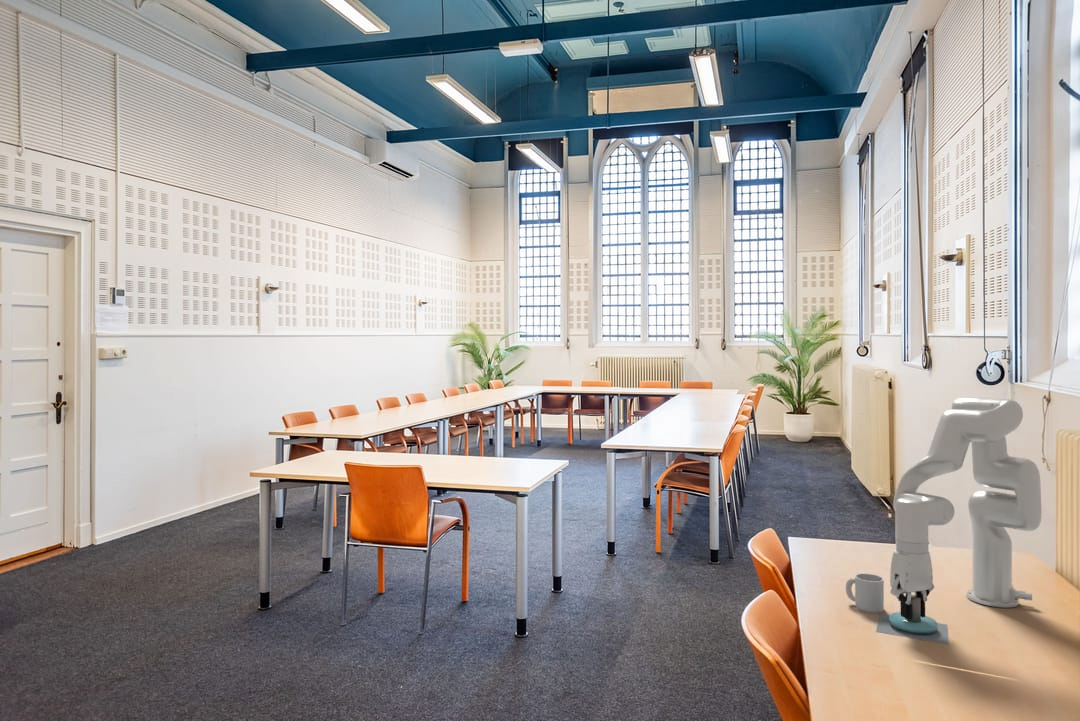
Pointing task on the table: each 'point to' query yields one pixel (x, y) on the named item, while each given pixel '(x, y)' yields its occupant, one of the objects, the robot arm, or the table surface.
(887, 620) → the mat
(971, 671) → the table surface
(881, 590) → the cup
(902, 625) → the lid
